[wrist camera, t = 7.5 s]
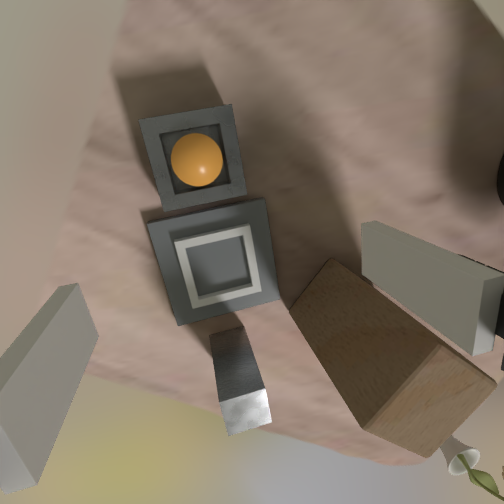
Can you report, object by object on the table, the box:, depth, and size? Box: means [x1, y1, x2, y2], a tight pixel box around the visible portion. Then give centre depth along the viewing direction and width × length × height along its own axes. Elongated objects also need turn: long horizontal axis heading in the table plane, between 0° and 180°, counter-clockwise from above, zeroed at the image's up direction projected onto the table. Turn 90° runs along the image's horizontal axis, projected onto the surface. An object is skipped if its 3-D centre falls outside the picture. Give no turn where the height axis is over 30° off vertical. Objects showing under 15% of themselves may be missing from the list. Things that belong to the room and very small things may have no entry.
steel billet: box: [209, 326, 272, 436], centre depth 39 cm, size 5×5×12 cm
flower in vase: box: [440, 435, 504, 501], centre depth 43 cm, size 13×11×25 cm
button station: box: [138, 104, 247, 212], centre depth 33 cm, size 9×9×4 cm
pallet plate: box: [147, 197, 280, 326], centre depth 39 cm, size 14×14×2 cm
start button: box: [171, 133, 223, 186], centre depth 32 cm, size 5×5×3 cm
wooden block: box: [289, 258, 497, 458], centre depth 36 cm, size 10×10×20 cm
